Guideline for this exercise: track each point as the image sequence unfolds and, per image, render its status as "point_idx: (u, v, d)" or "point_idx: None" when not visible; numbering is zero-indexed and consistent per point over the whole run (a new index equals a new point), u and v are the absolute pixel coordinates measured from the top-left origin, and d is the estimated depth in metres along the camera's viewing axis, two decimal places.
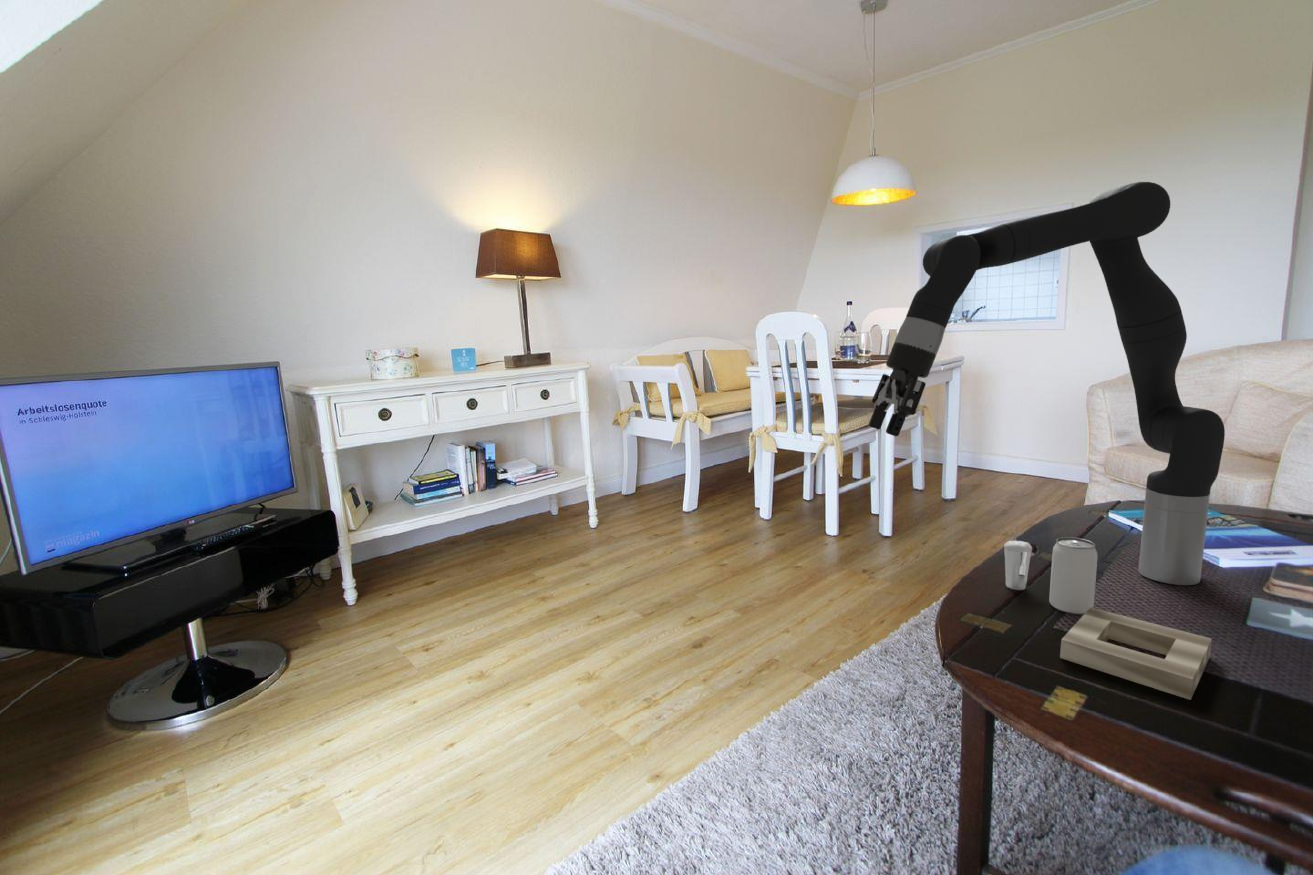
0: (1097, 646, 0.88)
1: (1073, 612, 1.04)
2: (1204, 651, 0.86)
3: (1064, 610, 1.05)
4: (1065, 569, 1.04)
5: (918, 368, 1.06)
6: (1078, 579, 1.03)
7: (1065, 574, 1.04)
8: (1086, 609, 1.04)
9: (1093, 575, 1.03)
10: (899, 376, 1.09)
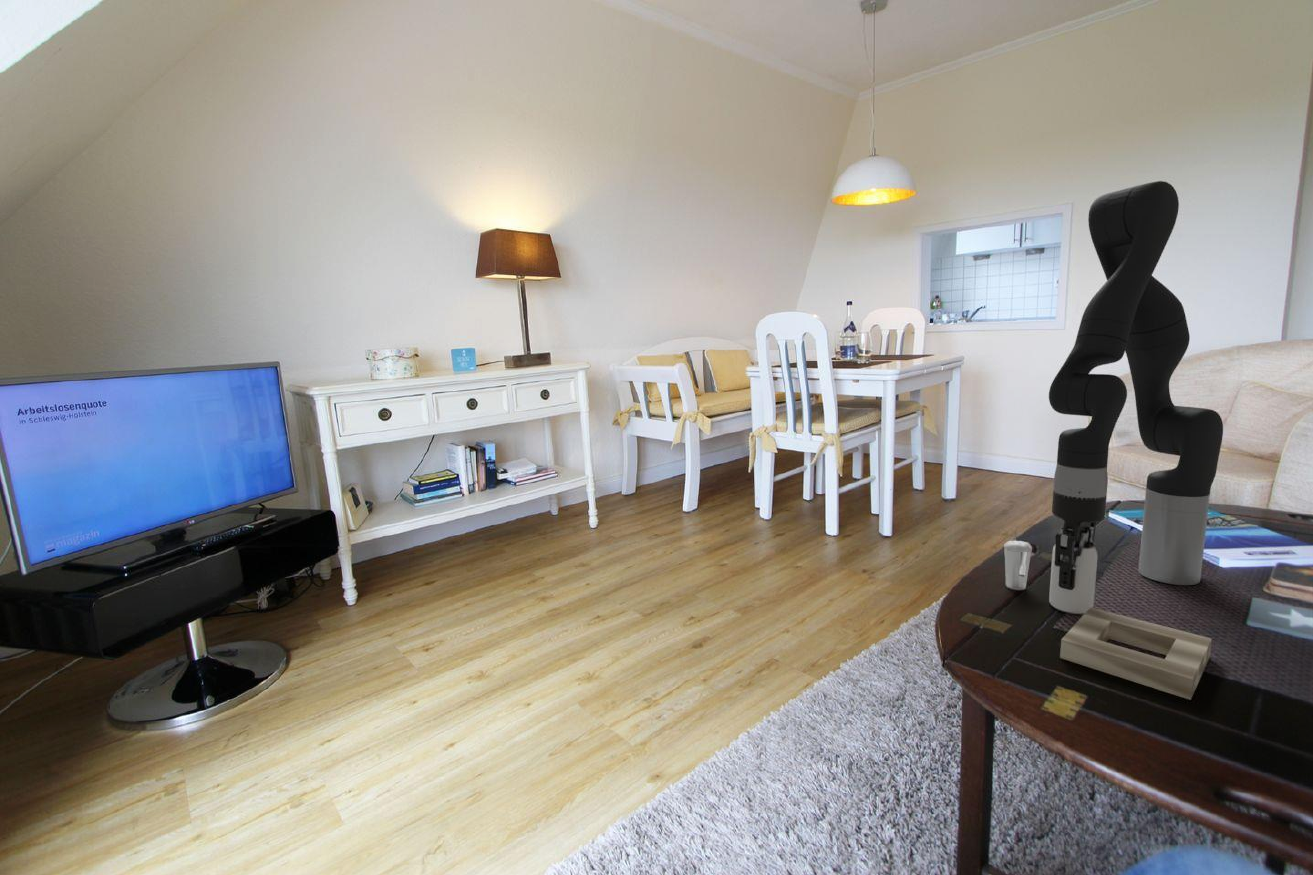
0: (1097, 646, 0.88)
1: (1073, 612, 1.04)
2: (1204, 651, 0.86)
3: (1064, 610, 1.05)
4: None
5: (1073, 516, 1.02)
6: (1078, 579, 1.03)
7: None
8: (1086, 609, 1.04)
9: (1093, 575, 1.03)
10: None
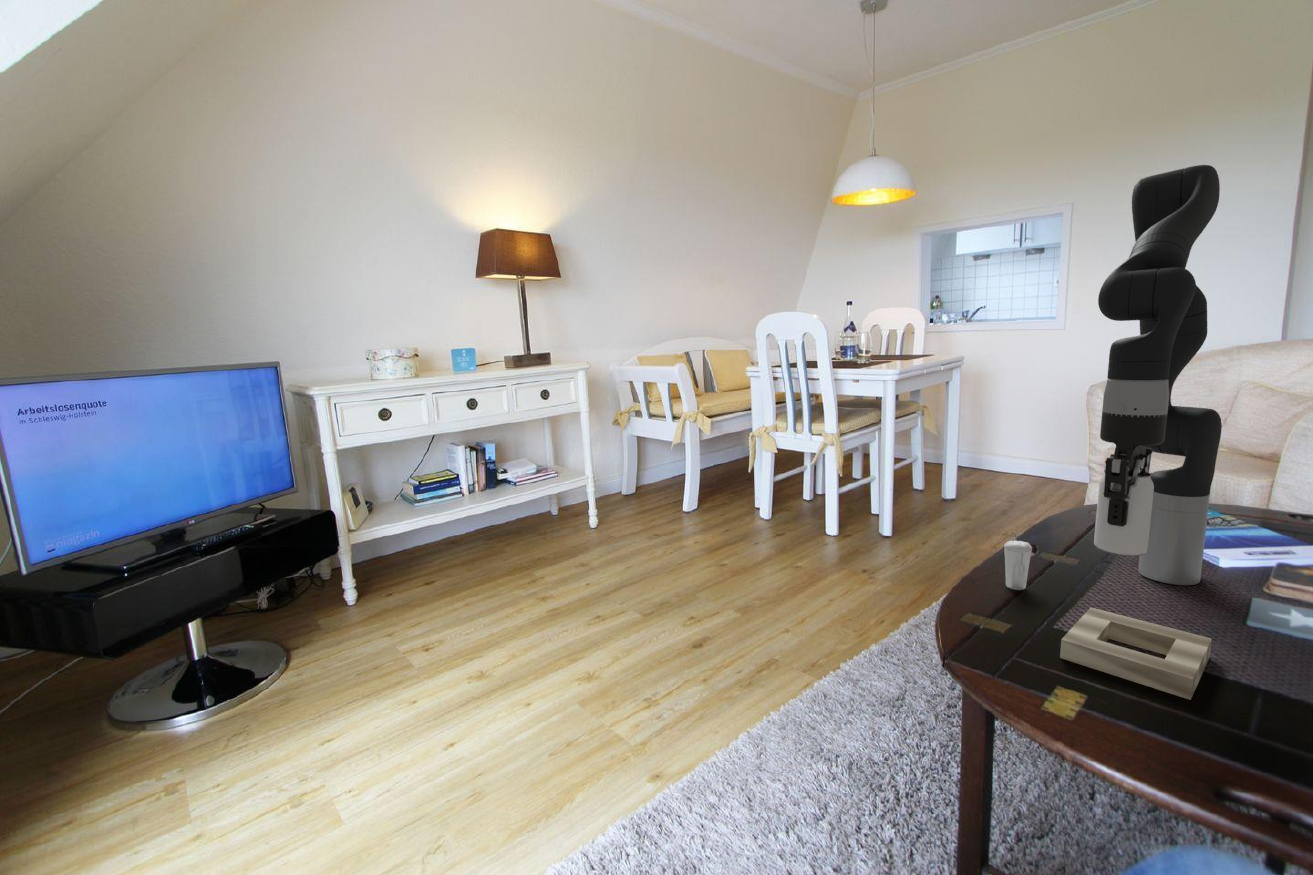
0: (1097, 646, 0.88)
1: (1123, 553, 0.89)
2: (1204, 651, 0.86)
3: (1112, 551, 0.90)
4: None
5: (1126, 438, 0.86)
6: (1131, 514, 0.88)
7: None
8: (1139, 550, 0.89)
9: (1149, 509, 0.88)
10: None
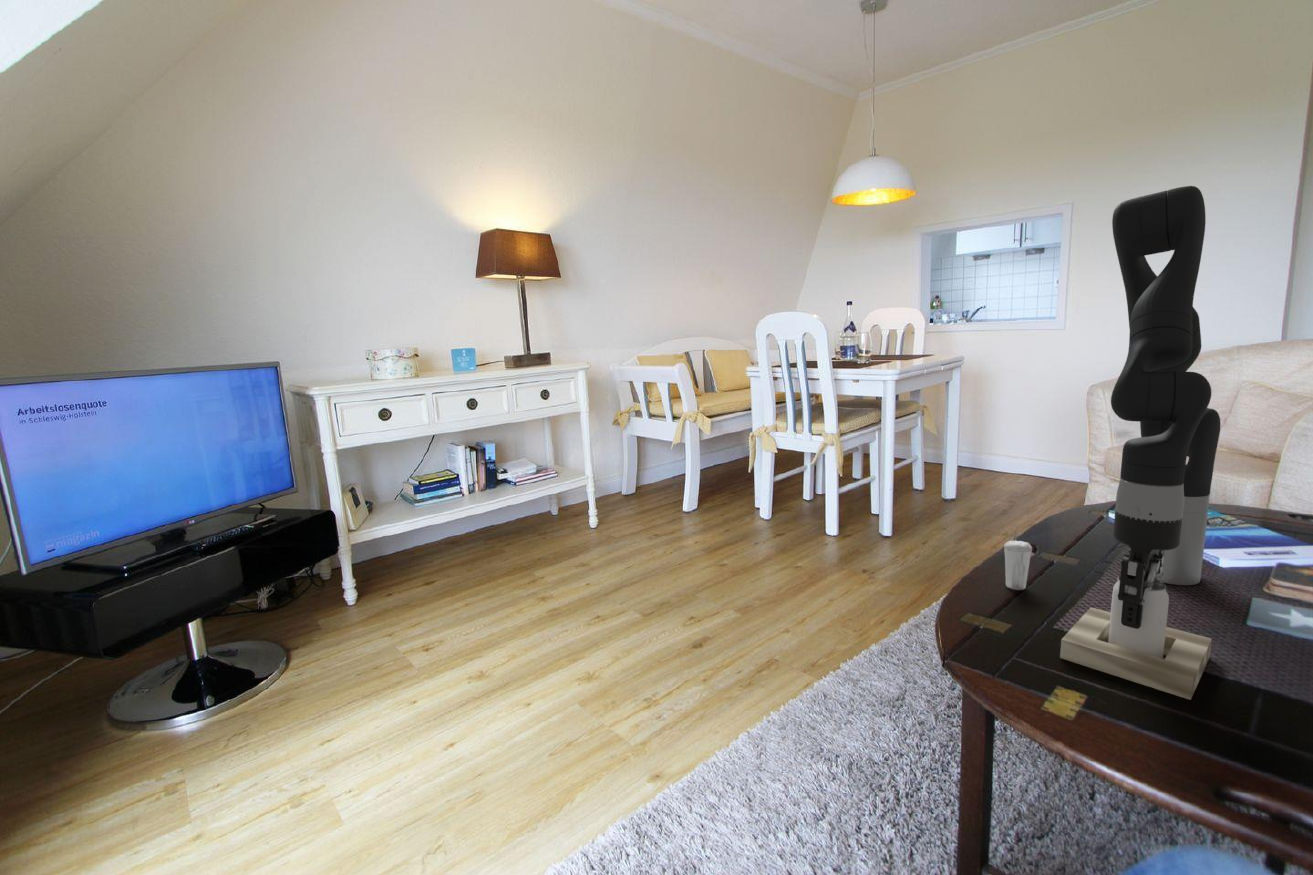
0: (1097, 646, 0.88)
1: None
2: (1204, 651, 0.86)
3: None
4: None
5: (1141, 542, 0.85)
6: (1146, 627, 0.86)
7: None
8: None
9: (1164, 622, 0.87)
10: None
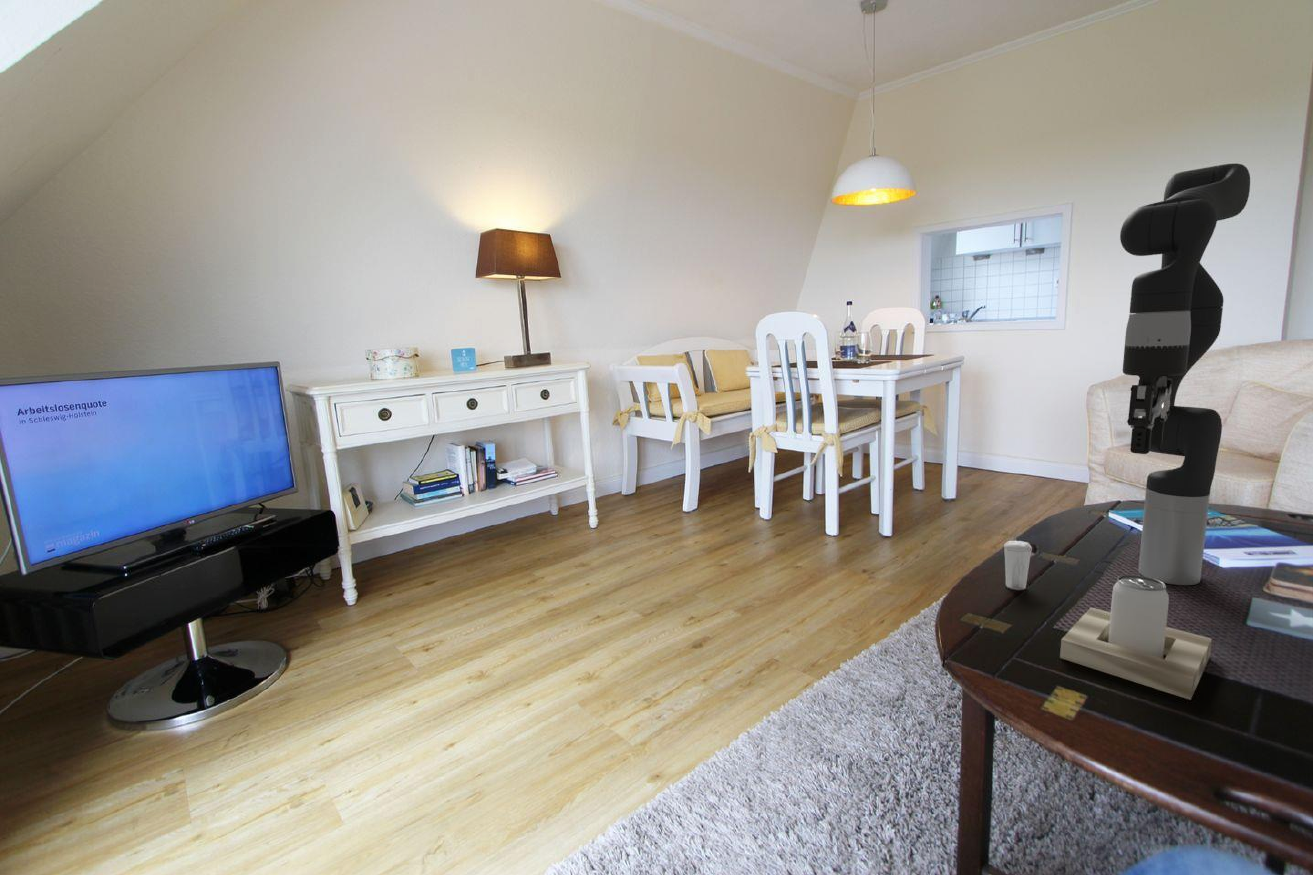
0: (1097, 646, 0.88)
1: None
2: (1204, 651, 0.86)
3: None
4: (1130, 614, 0.87)
5: (1150, 369, 0.89)
6: (1146, 627, 0.86)
7: (1130, 619, 0.88)
8: None
9: (1164, 622, 0.87)
10: None
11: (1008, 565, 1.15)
